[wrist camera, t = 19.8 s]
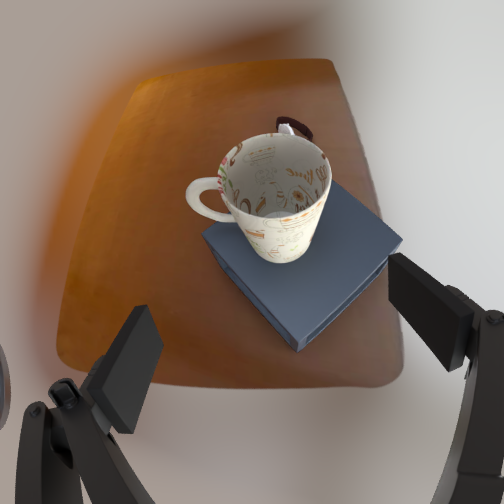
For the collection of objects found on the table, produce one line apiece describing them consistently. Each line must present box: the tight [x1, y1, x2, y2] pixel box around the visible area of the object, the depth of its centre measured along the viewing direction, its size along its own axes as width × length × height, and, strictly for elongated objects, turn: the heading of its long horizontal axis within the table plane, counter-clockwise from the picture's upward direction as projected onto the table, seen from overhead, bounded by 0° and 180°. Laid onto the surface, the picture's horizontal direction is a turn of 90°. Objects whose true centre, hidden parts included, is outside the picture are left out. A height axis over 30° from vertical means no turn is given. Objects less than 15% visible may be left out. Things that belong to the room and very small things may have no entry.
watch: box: [276, 117, 313, 142], centre depth 46 cm, size 8×5×4 cm, turn 35°
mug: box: [186, 133, 331, 263], centre depth 26 cm, size 8×13×10 cm, turn 81°
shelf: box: [201, 179, 403, 353], centre depth 34 cm, size 15×15×9 cm
